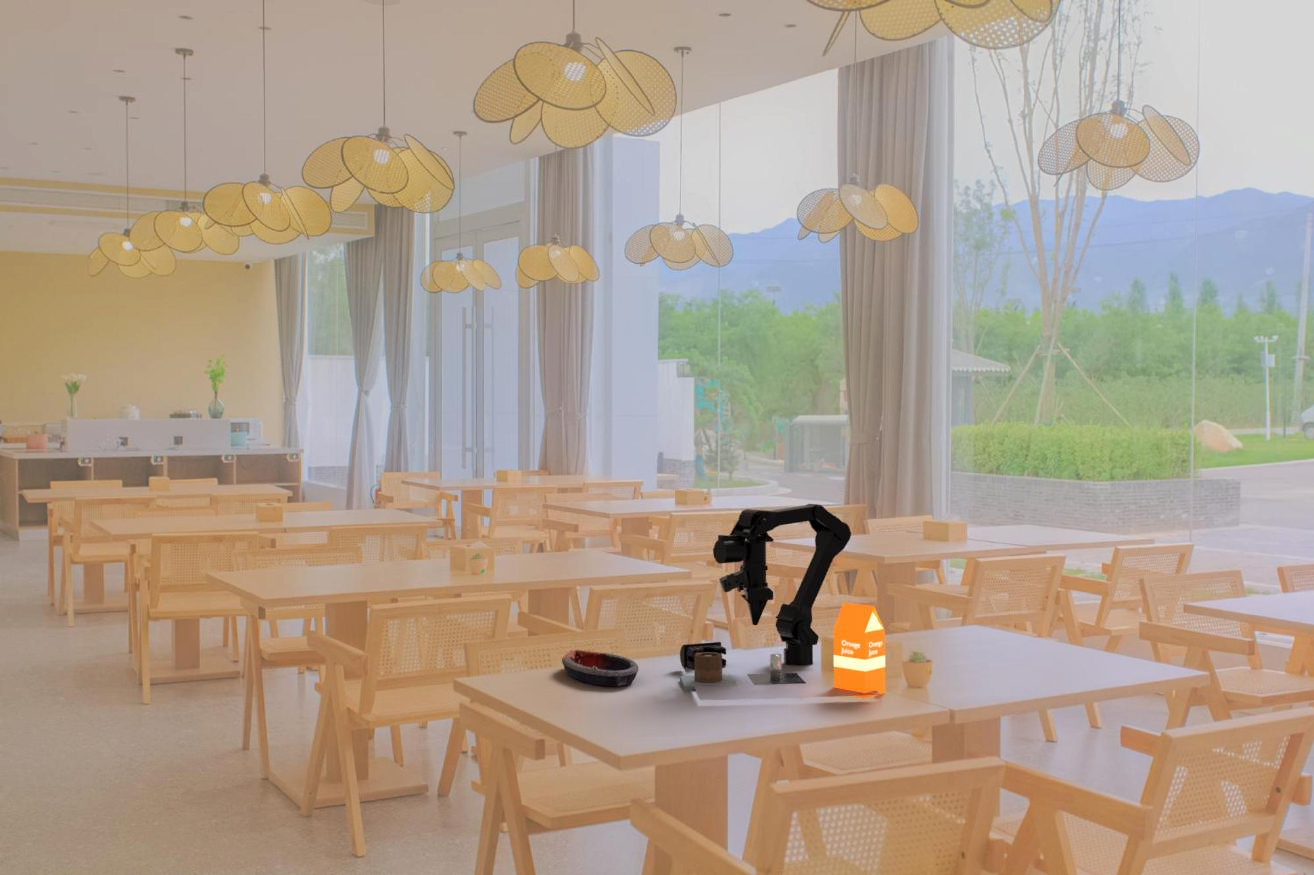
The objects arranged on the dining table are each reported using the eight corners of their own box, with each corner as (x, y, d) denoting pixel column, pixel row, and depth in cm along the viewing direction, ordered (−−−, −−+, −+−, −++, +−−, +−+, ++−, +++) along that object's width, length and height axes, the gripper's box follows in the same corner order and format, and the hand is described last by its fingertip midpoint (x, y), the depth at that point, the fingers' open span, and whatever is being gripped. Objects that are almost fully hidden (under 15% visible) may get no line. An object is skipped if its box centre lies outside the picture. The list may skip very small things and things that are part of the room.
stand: (796, 678, 299) (796, 649, 299) (806, 688, 287) (806, 658, 287) (746, 679, 298) (746, 650, 298) (754, 689, 286) (754, 660, 286)
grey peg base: (730, 679, 298) (730, 650, 298) (737, 690, 286) (737, 659, 286) (680, 680, 297) (680, 651, 297) (685, 691, 285) (684, 660, 285)
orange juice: (854, 687, 288) (853, 600, 287) (885, 693, 281) (885, 604, 281) (833, 692, 282) (832, 604, 282) (865, 698, 276) (864, 608, 276)
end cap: (716, 666, 314) (716, 640, 314) (728, 671, 308) (727, 644, 308) (679, 670, 311) (679, 642, 311) (690, 675, 304) (690, 647, 304)
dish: (592, 693, 285) (591, 671, 285) (548, 669, 313) (548, 650, 313) (654, 686, 291) (653, 665, 291) (605, 664, 320) (605, 645, 320)
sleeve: (713, 676, 295) (713, 648, 295) (726, 681, 290) (725, 652, 290) (690, 679, 293) (690, 651, 293) (703, 683, 287) (703, 655, 287)
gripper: (716, 557, 313) (717, 619, 313) (726, 565, 294) (727, 632, 294) (760, 556, 313) (761, 618, 314) (773, 565, 295) (774, 630, 295)
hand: (754, 624), depth 304 cm, fingers closed
